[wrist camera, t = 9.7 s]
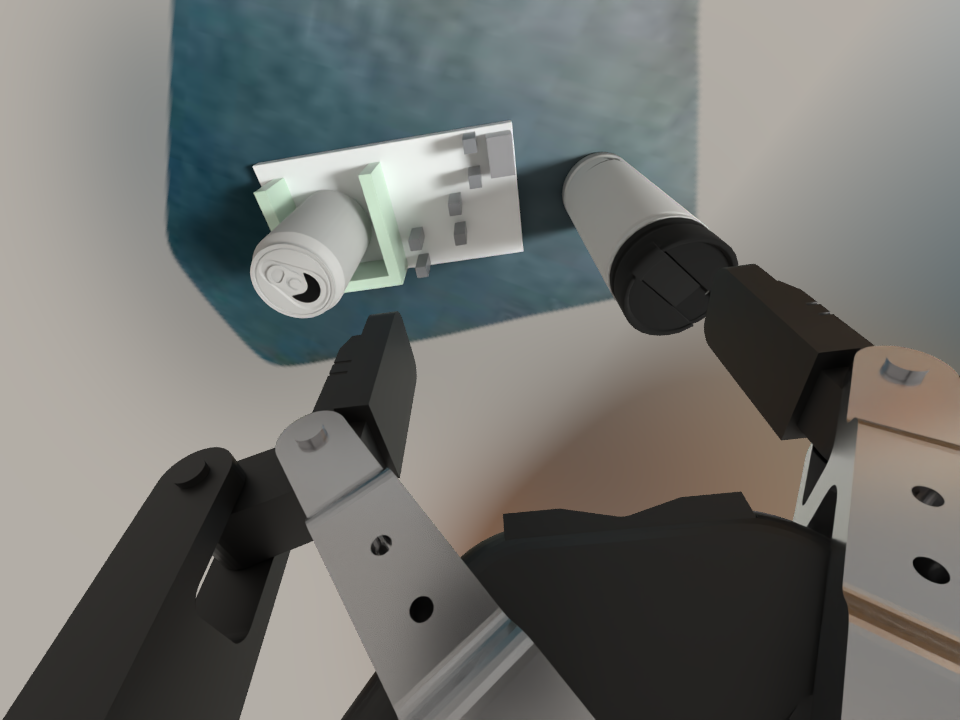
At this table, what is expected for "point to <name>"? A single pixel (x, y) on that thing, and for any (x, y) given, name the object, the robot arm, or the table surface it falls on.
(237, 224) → the table surface
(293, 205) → the end holder
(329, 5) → the table surface
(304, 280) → the beverage can
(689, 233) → the travel mug
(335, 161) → the board
